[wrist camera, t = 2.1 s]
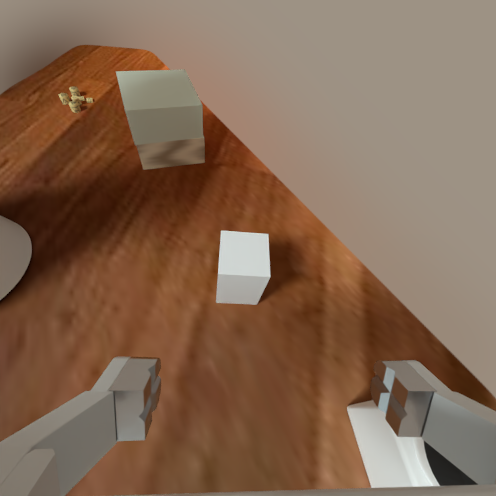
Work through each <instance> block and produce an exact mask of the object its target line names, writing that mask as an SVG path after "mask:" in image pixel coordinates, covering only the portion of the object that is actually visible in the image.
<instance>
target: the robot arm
mask: <svg viewBox="0 0 496 496" xmlns="http://www.w3.org/2000/svg"><path fill="white" fill-rule="evenodd" d="M31 254H32V245H31V240H30V237H29V235H28V234H27V232H26V231H25V230H24V229H23V228H22V227H21V226H20V225H18V224H17V223H15V222H13V221H11V220H9V219H7V218H5V217H3V216H1V215H0V300H1V299H2V298H3V297H4V296H6V295H7V294H8V293H9V292H10V291H11V290H12V289H13V288H14V287H15V285H16V284H17V283H18V282H19V280H20V279H21V278H22V276H23V275H24V273H25V271H26V269H27V267H28V265H29V262H30V259H31ZM160 369H161V362H160V358H153V357H115V358H114V359H113V360H112V361H111V363H110V364H109V365H108V367H107V368H106V370H105V371H104V372H103V374H102V375H101V377H100V378H99V379H98V381H97V382H96V384H95V385H94V387H93V388H92V389H91V391H85V392H83V393H82V394H80V395H78V396H77V397H75V398H73V399H72V400H70V401H68V402H67V403H65V404H63V405H62V406H60V407H58V408H57V409H55V410H53V411H52V412H50V413H48V414H47V415H45V416H43V417H42V418H40V419H38V420H36V421H35V422H33V423H31V424H30V425H28V426H26V427H25V428H23V429H21V430H20V431H18V432H16V433H15V434H13V435H11V436H10V437H8V438H6V439H5V440H3V441H1V442H0V496H65V495H66V494H67V493H68V492H69V491H70V490H71V489H72V488H73V487H74V486H75V485H76V484H77V483H78V482H79V481H80V480H81V479H82V478H83V477H84V476H85V475H86V474H87V473H88V472H89V471H90V470H91V469H92V468H93V467H94V465H95V464H96V463H97V462H98V461H99V460H100V459H101V458H102V457H103V456H104V455H105V454H106V453H107V452H108V451H109V450H110V449H111V448H112V447H113V446H114V445H115V444H116V441H135V440H145V439H146V436H147V433H148V430H149V427H150V425H151V422H152V412H153V411H154V410H155V409H156V407H157V404H158V401H159V396H160V390H161V378H160V377H159V376H158V374H159V371H160ZM373 370H374V372H375V374H376V376H375V377H374V378H373V379H372V380H371V385H370V390H371V396H372V398H373V401H374V403H375V404H376V406H377V407H378V408H379V409H380V410H381V411H383V412H384V413H386V417H385V419H386V421H387V422H388V424H389V425H390V427H391V428H392V429H393V431H394V432H395V434H396V435H397V437H422V439H423V440H424V441H425V442H426V443H428V444H429V445H430V446H431V447H433V448H434V449H435V450H436V451H438V452H439V453H440V454H441V455H443V456H444V457H445V458H446V459H447V460H449V461H450V462H451V463H452V464H454V465H455V466H456V467H457V468H459V469H460V470H461V471H462V472H464V473H465V474H466V475H467V476H468V477H470V478H471V479H472V480H473V481H475V482H476V483H477V484H478V485H452V486H418V487H383V488H349V489H316V490H282V491H249V492H215V493H182V494H148V495H115V496H496V411H494V410H492V409H490V408H488V407H486V406H484V405H482V404H480V403H478V402H476V401H474V400H472V399H470V398H468V397H466V396H464V395H462V394H460V393H458V392H452V391H451V390H450V389H449V388H448V387H447V386H445V385H444V384H443V383H442V382H441V381H440V380H439V379H438V378H437V377H435V376H434V375H433V374H432V373H431V372H430V371H429V370H428V369H427V368H425V367H424V366H423V365H422V364H421V363H420V362H418V361H416V360H402V361H376V363H375V364H374V369H373Z"/></svg>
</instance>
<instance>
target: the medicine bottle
mask: <svg viewBox="0 0 496 496" xmlns="http://www.w3.org/2000/svg"><path fill="white" fill-rule="evenodd" d="M347 411H348V414H349V418H350V421H351V424H352V427H353V430H354V434H355V437H356V440H357V443H358V446H359V450H360V453H361V456H362V459H363V462H364V466H365V469H366V472H367V475H368V478H369V482H370V485H371V488H383V487H418V486H452V485H478V484H477V483H476V482H475V481H473V480H472V479H471V478H470V477H468V476H467V475H466V474H465V473H464V472H462V471H461V470H460V469H459V468H457V467H456V466H455V465H454V464H452V463H451V462H450V461H449V460H447V459H446V458H445V457H444V456H443V455H441V454H440V453H439V452H438V451H436V450H435V449H434V448H433V447H431V446H430V445H429V444H428V443H426V442H425V441H424V440H423V439H422V437H397V435H396V434H395V432H394V431H393V429H392V428H391V427H390V425H389V424H388V422H387V421H386V419H385V417H386V413H384V412H383V411H381V410H380V409H379V408H378V407H377V406H376V404H375V403H374V401H373V400H371V401H366V402H362V403H357V404H353V405H349V406H348V407H347Z"/></svg>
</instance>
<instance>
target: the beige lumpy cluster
mask: <svg viewBox="0 0 496 496" xmlns="http://www.w3.org/2000/svg"><path fill="white" fill-rule="evenodd" d="M69 89H70V91H71V94H72V97H71V99H72V101H70V99H69V96H68V95H67V93H60V94H59V97H60V99H61V101H62V103H63V104H66V105H67V104H69V106H70V108H71V110H72V112H75V113H77V112H80V111H81V109H80V107H79V106H80V105H82V103H81V101H85V99H84V97H83V96H81V95H80V92H79V90H78V88H77V87H75V86H73V87H70V88H69ZM80 96H81V97H80ZM86 100H87V103H92V102H93V99H92V98H86Z"/></svg>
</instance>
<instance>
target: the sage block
mask: <svg viewBox="0 0 496 496" xmlns="http://www.w3.org/2000/svg"><path fill="white" fill-rule="evenodd" d="M116 74H117V78H118V83H119V87H120V91H121V95H122V99H123V104H124V108H125V112H126V115H127V119H128V122H129V126H130V129H131V133H132V136H133V140H134V143H135V145H141V144H150V143H159V142H168V141H176V140H185V139H194V138H203V110H202V103H201V101H200V99H199V97H198V95H197V93H196V91H195V89H194V87H193V85H192V83H191V81H190V79H189V77H188V75H187V73H186V71H185V70H154V71H119V72H116Z"/></svg>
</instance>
